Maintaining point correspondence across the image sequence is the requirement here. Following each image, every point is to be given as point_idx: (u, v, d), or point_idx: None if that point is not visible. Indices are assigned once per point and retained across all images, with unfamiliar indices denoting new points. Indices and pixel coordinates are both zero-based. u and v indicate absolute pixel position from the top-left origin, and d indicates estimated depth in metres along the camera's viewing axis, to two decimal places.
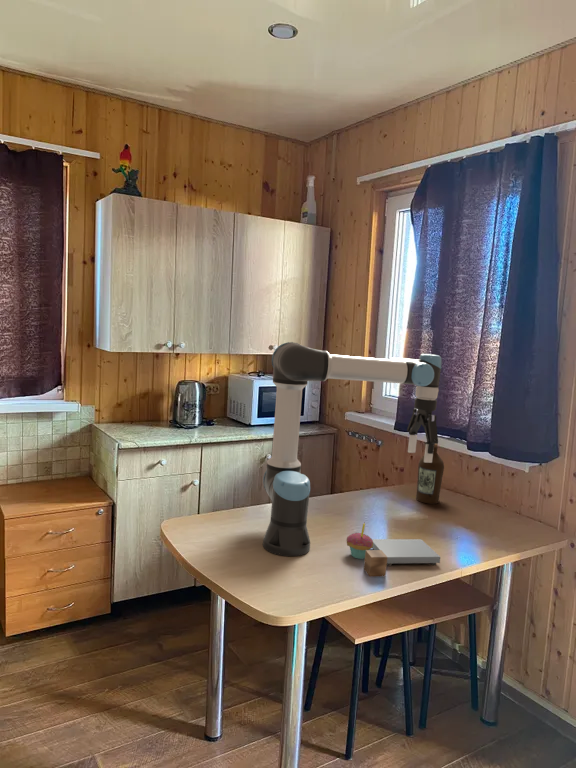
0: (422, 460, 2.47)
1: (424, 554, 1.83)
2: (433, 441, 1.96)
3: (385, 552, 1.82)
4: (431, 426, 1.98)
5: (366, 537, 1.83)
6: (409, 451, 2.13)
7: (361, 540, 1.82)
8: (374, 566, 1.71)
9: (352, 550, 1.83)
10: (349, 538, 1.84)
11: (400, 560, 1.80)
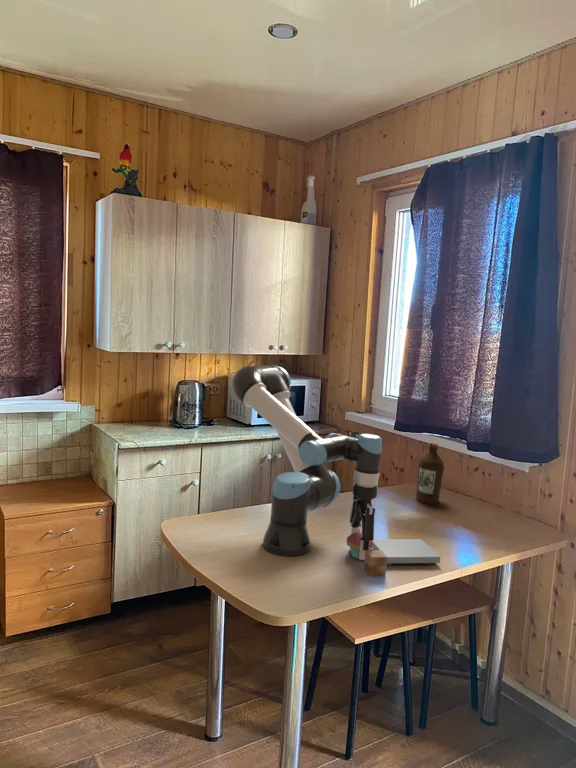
0: (422, 460, 2.47)
1: (424, 554, 1.83)
2: (368, 538, 1.77)
3: (385, 552, 1.82)
4: (368, 521, 1.77)
5: None
6: None
7: None
8: (374, 566, 1.71)
9: (352, 550, 1.83)
10: (349, 538, 1.84)
11: (400, 560, 1.80)
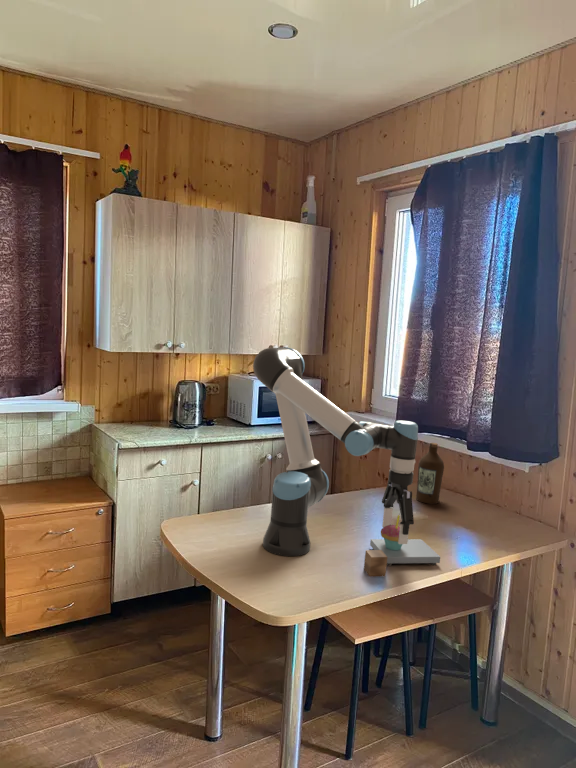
0: (422, 460, 2.47)
1: (424, 554, 1.83)
2: (408, 522, 1.75)
3: (385, 552, 1.82)
4: (406, 504, 1.77)
5: None
6: (384, 526, 1.92)
7: (396, 531, 1.83)
8: (374, 566, 1.71)
9: (387, 542, 1.85)
10: (384, 530, 1.85)
11: (400, 560, 1.80)
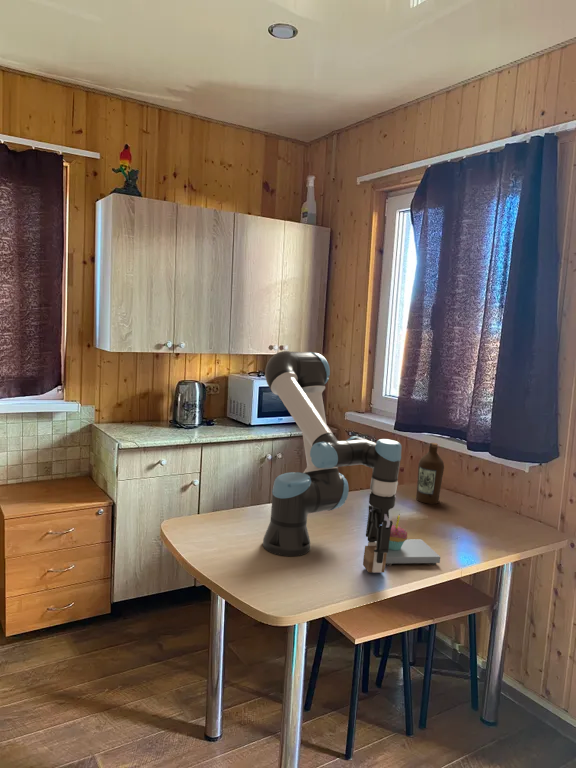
0: (422, 460, 2.47)
1: (424, 554, 1.83)
2: (382, 550, 1.67)
3: None
4: (384, 534, 1.66)
5: (401, 529, 1.85)
6: None
7: (396, 531, 1.83)
8: None
9: None
10: None
11: (400, 560, 1.80)
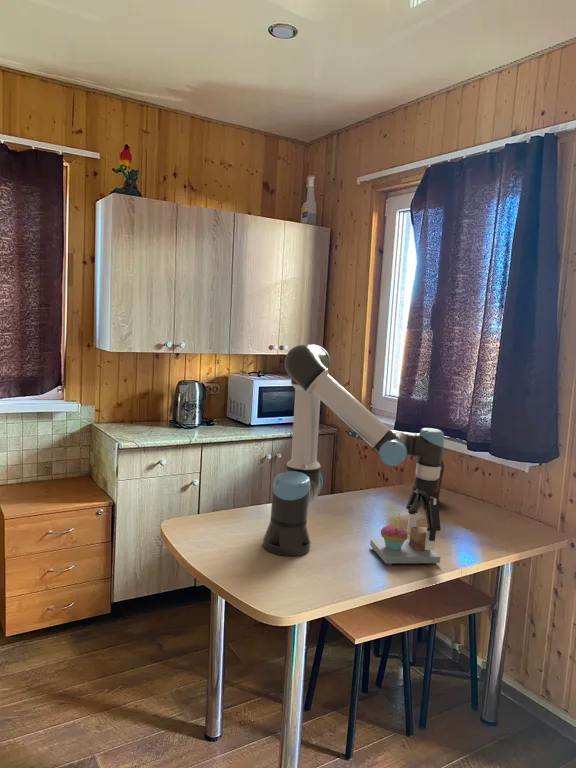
0: None
1: (424, 554, 1.83)
2: (435, 528, 1.77)
3: (385, 552, 1.82)
4: (433, 511, 1.79)
5: (401, 529, 1.85)
6: (409, 532, 1.94)
7: (396, 531, 1.83)
8: (420, 541, 1.85)
9: (387, 542, 1.84)
10: (384, 530, 1.85)
11: (400, 560, 1.80)
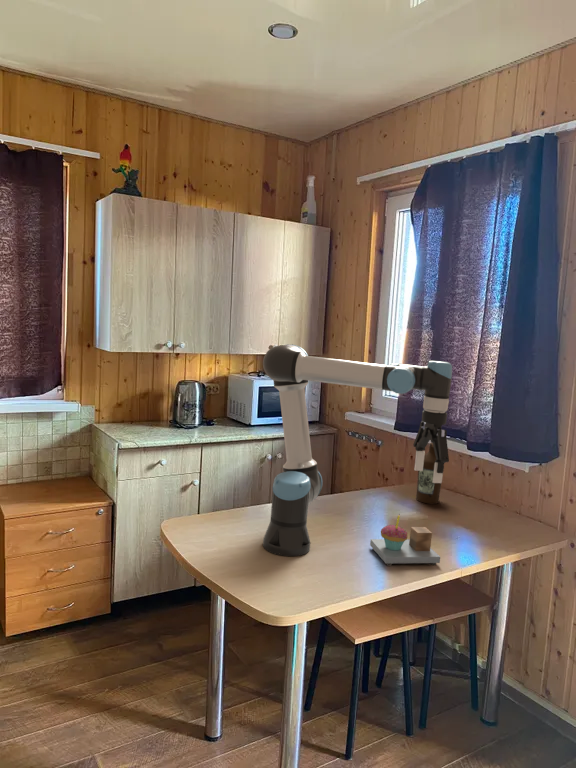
0: None
1: (424, 554, 1.83)
2: (443, 459, 1.75)
3: (385, 552, 1.82)
4: (441, 442, 1.76)
5: (401, 529, 1.85)
6: (416, 469, 1.92)
7: (396, 531, 1.83)
8: (420, 541, 1.85)
9: (387, 542, 1.85)
10: (384, 530, 1.85)
11: (400, 560, 1.80)
